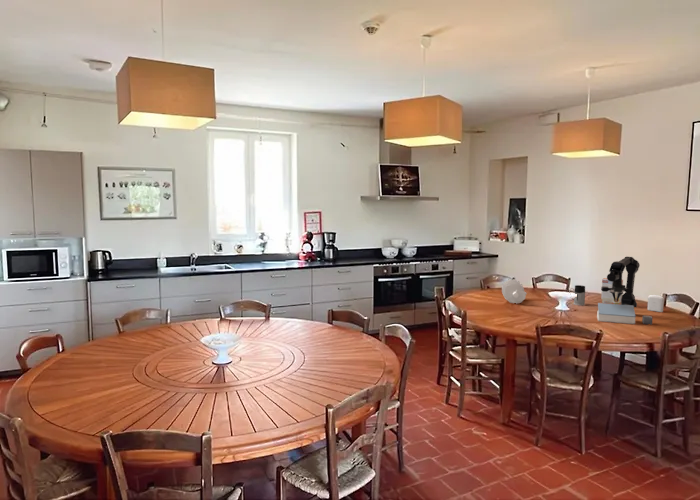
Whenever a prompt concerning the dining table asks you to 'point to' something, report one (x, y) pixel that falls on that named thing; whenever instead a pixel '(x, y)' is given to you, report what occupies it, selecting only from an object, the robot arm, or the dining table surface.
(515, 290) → the white rounded lump
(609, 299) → the cracker box
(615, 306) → the box lid
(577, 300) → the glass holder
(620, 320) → the storage box
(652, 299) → the photo printer
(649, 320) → the block
